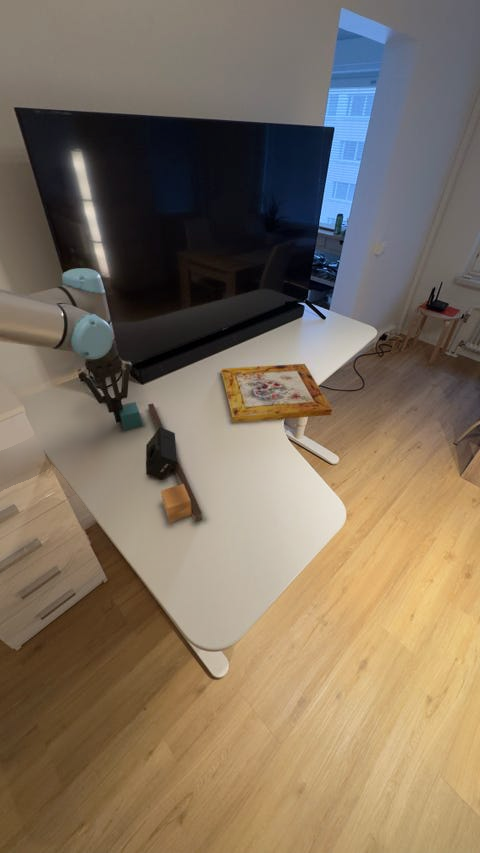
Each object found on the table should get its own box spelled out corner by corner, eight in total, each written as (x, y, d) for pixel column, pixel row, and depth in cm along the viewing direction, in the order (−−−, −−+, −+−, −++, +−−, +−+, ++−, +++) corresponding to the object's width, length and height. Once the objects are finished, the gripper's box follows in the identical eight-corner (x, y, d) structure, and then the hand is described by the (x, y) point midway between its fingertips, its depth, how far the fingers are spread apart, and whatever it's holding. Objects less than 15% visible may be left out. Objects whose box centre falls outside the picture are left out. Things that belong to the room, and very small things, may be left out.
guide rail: (195, 522, 73) (194, 515, 71) (149, 411, 102) (147, 404, 100) (202, 519, 74) (201, 512, 72) (154, 410, 102) (153, 403, 101)
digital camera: (141, 442, 86) (155, 424, 84) (160, 450, 89) (175, 432, 86) (141, 473, 79) (156, 453, 76) (161, 480, 82) (177, 461, 79)
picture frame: (332, 409, 102) (232, 417, 97) (330, 415, 103) (232, 422, 99) (304, 363, 122) (221, 368, 118) (303, 369, 123) (221, 373, 119)
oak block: (169, 522, 73) (167, 508, 69) (163, 505, 76) (160, 490, 73) (192, 514, 74) (190, 500, 71) (184, 498, 78) (183, 483, 75)
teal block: (123, 430, 95) (120, 416, 92) (120, 419, 98) (117, 405, 95) (142, 425, 97) (139, 411, 93) (138, 415, 100) (135, 401, 97)
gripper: (123, 330, 85) (138, 406, 100) (67, 338, 80) (91, 417, 95) (129, 343, 79) (144, 421, 95) (69, 353, 75) (95, 433, 90)
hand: (118, 419), depth 95 cm, fingers closed
